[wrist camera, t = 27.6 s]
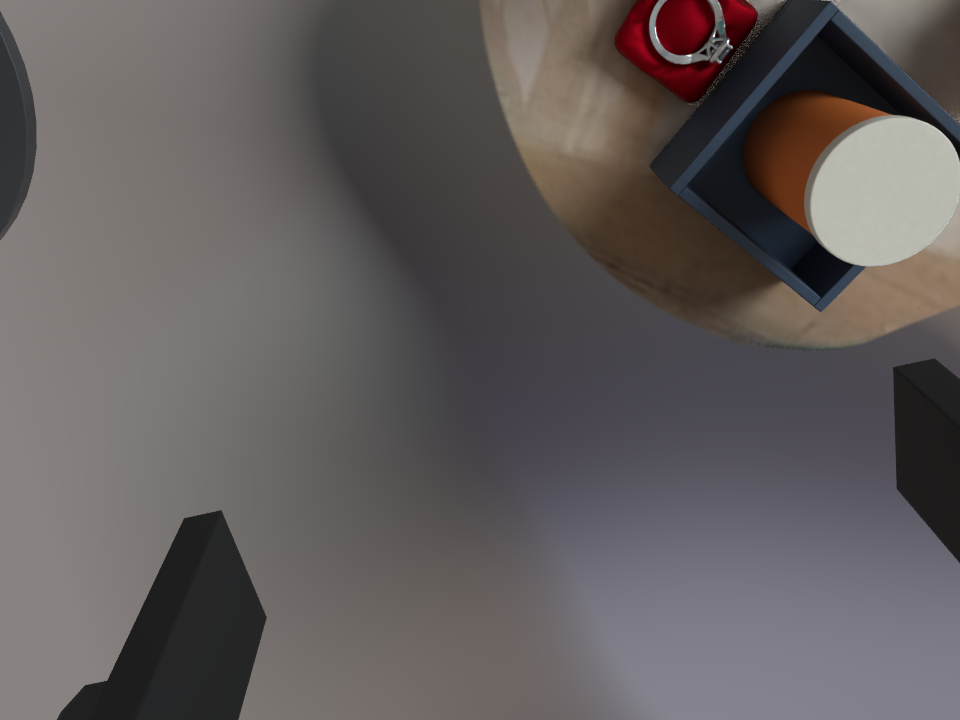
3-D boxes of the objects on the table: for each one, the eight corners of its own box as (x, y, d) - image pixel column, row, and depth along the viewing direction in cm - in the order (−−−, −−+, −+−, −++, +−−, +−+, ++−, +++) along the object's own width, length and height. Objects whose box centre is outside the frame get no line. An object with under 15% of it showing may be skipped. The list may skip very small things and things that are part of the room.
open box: (648, 166, 50) (669, 188, 45) (790, -3, 46) (830, 0, 41) (787, 279, 53) (821, 312, 48) (930, 128, 49) (984, 147, 44)
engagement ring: (689, 107, 48) (701, 114, 46) (603, 42, 47) (611, 46, 44) (759, 13, 46) (776, 16, 44) (672, -57, 45) (685, -59, 42)
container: (715, 160, 49) (778, 209, 39) (801, 60, 47) (892, 85, 37) (798, 230, 51) (880, 294, 41) (885, 137, 49) (994, 180, 39)
